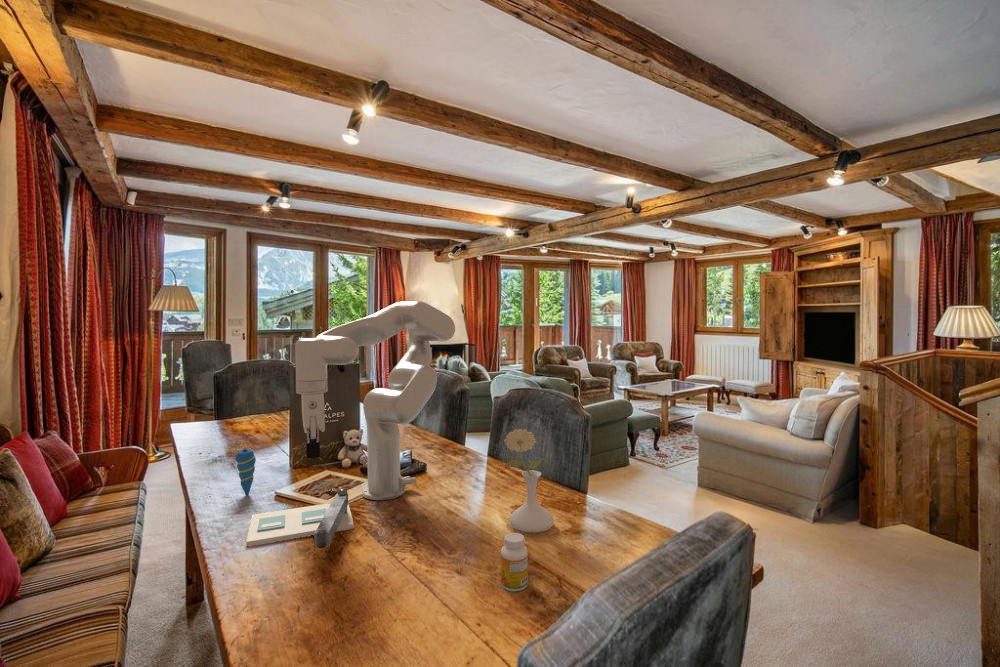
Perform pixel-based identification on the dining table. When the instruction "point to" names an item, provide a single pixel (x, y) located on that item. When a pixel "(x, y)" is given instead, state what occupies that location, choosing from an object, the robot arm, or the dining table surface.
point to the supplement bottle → (514, 563)
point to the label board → (291, 524)
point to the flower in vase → (530, 512)
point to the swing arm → (331, 519)
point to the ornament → (246, 468)
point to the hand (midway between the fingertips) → (313, 456)
